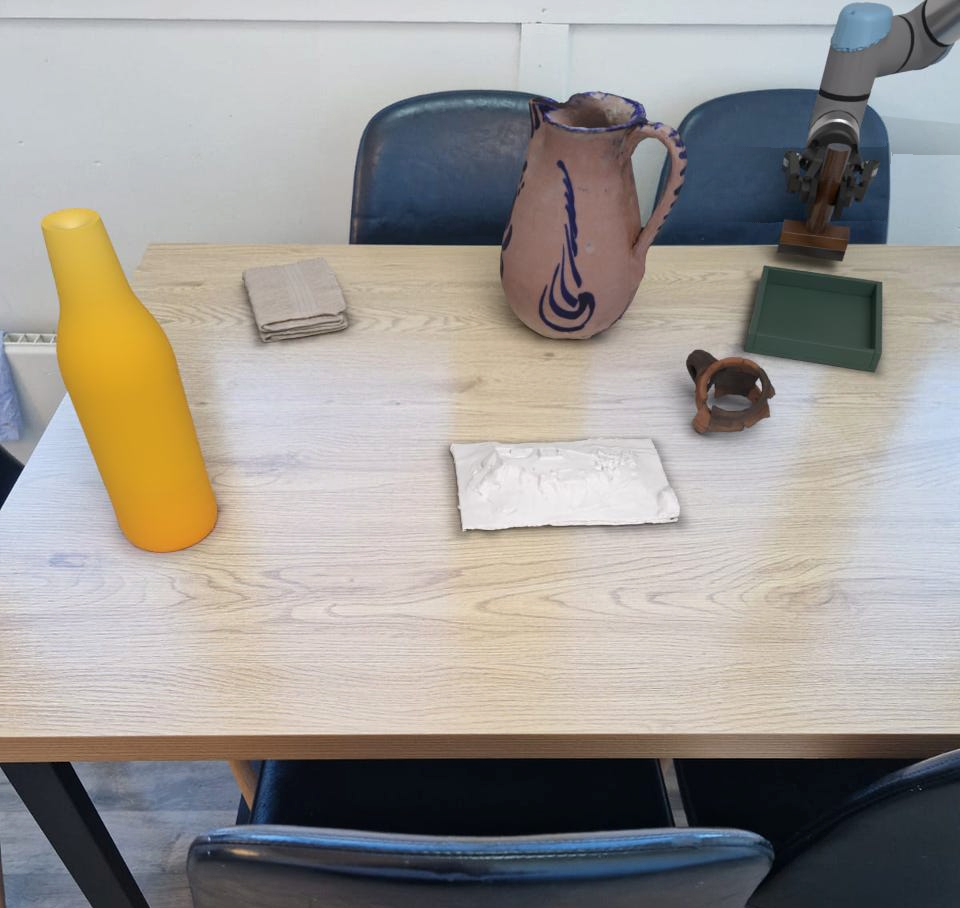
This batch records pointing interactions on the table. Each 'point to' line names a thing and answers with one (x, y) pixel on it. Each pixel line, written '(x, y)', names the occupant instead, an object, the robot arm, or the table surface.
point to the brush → (820, 215)
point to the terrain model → (562, 484)
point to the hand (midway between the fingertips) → (824, 208)
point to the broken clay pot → (728, 391)
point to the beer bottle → (126, 390)
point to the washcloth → (295, 299)
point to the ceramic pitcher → (582, 214)
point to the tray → (817, 318)
